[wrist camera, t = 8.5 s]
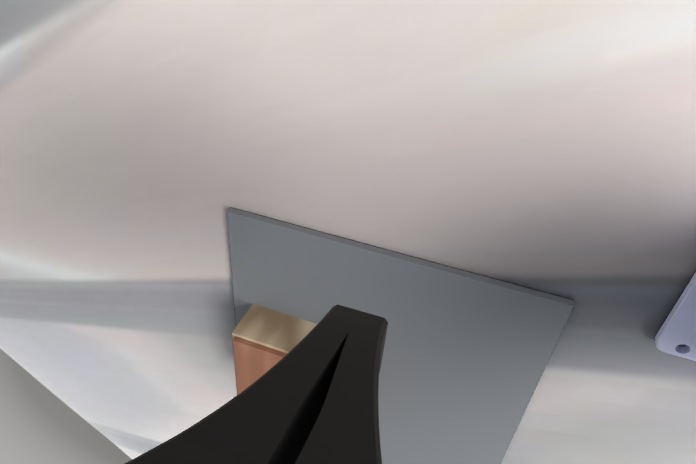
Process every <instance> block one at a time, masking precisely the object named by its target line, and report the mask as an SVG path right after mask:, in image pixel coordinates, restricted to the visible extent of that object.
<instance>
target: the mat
mask: <svg viewBox="0 0 696 464" xmlns="http://www.w3.org/2000/svg"><path fill="white" fill-rule="evenodd" d="M227 222H228V235H229V247H230V260H231V272H232V285H233V297H234V310H235V322H236V326H237V325H238V323H239V322H240V321H241V319H242V318H243V317H244V315H245V314H246V313H247V311H248V310H249V309H250V307H251V306H252V305H253V304H256V305H259V306H262V307H265V308H268V309H271V310H275V311H278V312H281V313H284V314H287V315H290V316H294V317H297V318H300V319H303V320H306V321H309V322H312V323H316V324H318V323H319V322H320V321H321V320H322V319H323V318H324V316H325V315H326V314H327V313H328V312H329V311H330V309H331V308H332V307H333V306H335V305H337V304H338V305H341V306H345V307H349V308H352V309H356V310H359V311H363V312H366V313H370V314H373V315H377V316H380V317H384V318H385V319H386V320H387V322H388V327H387V333H386V339H385V345H384V350H383V356H382V362H381V368H380V372H379V388H378V411H379V433H380V447H381V457H382V464H501V462H502V460H503V458H504V455H505V453H506V451H507V449H508V447H509V445H510V443H511V440H512V438H513V436H514V434H515V432H516V430H517V428H518V425H519V423H520V421H521V419H522V417H523V415H524V413H525V410H526V408H527V406H528V404H529V402H530V400H531V397H532V395H533V393H534V391H535V389H536V387H537V385H538V382H539V380H540V378H541V376H542V374H543V372H544V370H545V367H546V365H547V363H548V361H549V359H550V357H551V355H552V352H553V350H554V348H555V346H556V344H557V342H558V340H559V337H560V335H561V333H562V331H563V329H564V327H565V324H566V322H567V320H568V318H569V316H570V314H571V312H572V309H573V307H574V300H570V299H566V298H563V297H559V296H555V295H551V294H548V293H544V292H540V291H537V290H533V289H529V288H526V287H522V286H518V285H515V284H511V283H507V282H503V281H500V280H496V279H492V278H489V277H485V276H481V275H478V274H474V273H470V272H467V271H463V270H459V269H455V268H452V267H448V266H444V265H441V264H437V263H433V262H430V261H426V260H422V259H419V258H415V257H411V256H407V255H404V254H400V253H396V252H393V251H389V250H385V249H382V248H378V247H374V246H371V245H367V244H363V243H359V242H356V241H352V240H348V239H345V238H341V237H337V236H334V235H330V234H326V233H323V232H319V231H315V230H312V229H308V228H304V227H300V226H297V225H293V224H289V223H286V222H282V221H278V220H275V219H271V218H267V217H264V216H260V215H256V214H252V213H249V212H245V211H241V210H238V209H234V208H230V209H229V210H228V211H227Z"/></svg>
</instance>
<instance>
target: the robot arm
mask: <svg viewBox="0 0 696 464" xmlns="http://www.w3.org/2000/svg"><path fill="white" fill-rule="evenodd" d="M387 327H388V322H387V320H386V319H385V318H384V317H380V316H377V315H373V314H370V313H366V312H363V311H359V310H356V309H352V308H349V307H345V306H341V305H338V304H337V305H335V306H333V307H332V308H331V309H330V311H329V312H328V313H327V314H326V315H325V316H324V318H323V319H322V320H321V321H320V322H319V323H318V324H317V325H316V326H315V327H314V328H313V329H312V330H311V331H310V332H309V333H308V334H307V335H306V336H305V337H304V338H303V339H302V340H301V341H300V342H299V343H298V344H297V345H296V346H295V347H294V348H293V349H292V350H291V351H290V352H289V353H288V354H287V355H285V356H284V357H283V358H282V359H281V360H280V361H279V362H278V363H277V364H275V365H274V366H273V367H272V368H271V369H270V370H268V371H267V372H266V373H265V374H264V375H262V376H261V377H260V378H259V379H258V380H256V381H255V382H254V383H253V384H251V385H250V386H249V387H248V388H246V389H245V390H244V391H242V392H241V393H240V394H238V395H237V396H236V397H234V398H233V399H232V400H230V401H229V402H227V403H226V404H225V405H223V406H222V407H220V408H219V409H218V410H216V411H215V412H213V413H211V414H210V415H208V416H207V417H205V418H204V419H202V420H201V421H199V422H198V423H196V424H195V425H193V426H191V427H190V428H188V429H187V430H185V431H183V432H182V433H180V434H178V435H177V436H175V437H173V438H171V439H169V440H168V441H166V442H164V443H162V444H160V445H159V446H157V447H155V448H153V449H151V450H149V451H148V452H146V453H144V454H142V455H140V456H139V457H137V458H135V459H133V460H131V461H129V462H127V463H125V464H382V457H381V447H380V433H379V411H378V388H379V372H380V368H381V362H382V356H383V350H384V345H385V339H386V333H387ZM655 344H656V347H657V348H658V349H659V350H660V351H662V352H664V353H668V354H671V355H675V356H678V357H682V358H685V359H689V360H692V361H696V272H695V274H694V276H693V277H692V279H691V280H690V282H689V284H688V285H687V287H686V288H685V290H684V292H683V293H682V295H681V296H680V298H679V300H678V301H677V303H676V304H675V306H674V308H673V309H672V311H671V312H670V314H669V316H668V317H667V319H666V320H665V322H664V323H663V325H662V327H661V328H660V330H659V331H658V333H657V335H656V336H655ZM681 344H684V345H686V346H684V347H678V345H681Z"/></svg>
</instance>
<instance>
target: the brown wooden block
mask: <svg viewBox="0 0 696 464" xmlns="http://www.w3.org/2000/svg"><path fill="white" fill-rule="evenodd" d="M316 325H317V324H316V323H312V322H309V321H306V320H303V319H300V318H297V317H294V316H290V315H287V314H284V313H281V312H278V311H275V310H271V309H268V308H265V307H262V306H259V305H256V304H253V305H252V306H251V307H250V309H249V310H248V311H247V313H246V314H245V315H244V317H243V318H242V319H241V321H240V322H239V323H238V325H237V326H236V327H235V329H234V330H233V332H232V341H233V352H234V363H235V375H236V386H237V395H238V394H240V393H241V392H242V391H244V390H245V389H246V388H248V387H249V386H250V385H251V384H253V383H254V382H255V381H256V380H258V379H259V378H260V377H261V376H262V375H264V374H265V373H266V372H267V371H268V370H270V369H271V368H272V367H273V366H274V365H275V364H277V363H278V362H279V361H280V360H281V359H282V358H283V357H284V356H285V355H287V354H288V353H289V352H290V351H291V350H292V349H293V348H294V347H295V346H296V345H297V344H298V343H299V342H300V341H301V340H302V339H303V338H304V337H305V336H306V335H307V334H308V333H309V332H310V331H311V330H312V329H313V328H314V327H315V326H316Z"/></svg>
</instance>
